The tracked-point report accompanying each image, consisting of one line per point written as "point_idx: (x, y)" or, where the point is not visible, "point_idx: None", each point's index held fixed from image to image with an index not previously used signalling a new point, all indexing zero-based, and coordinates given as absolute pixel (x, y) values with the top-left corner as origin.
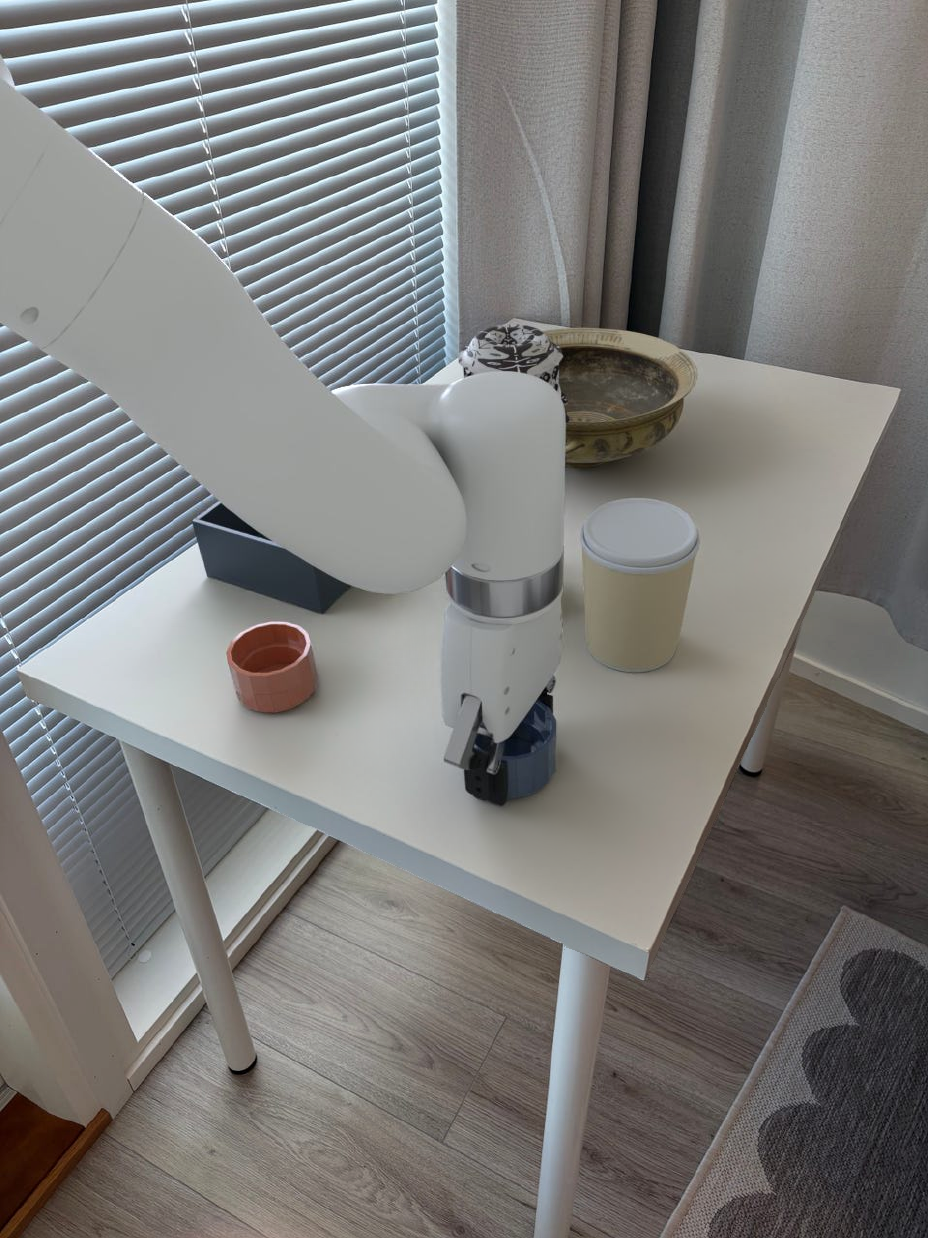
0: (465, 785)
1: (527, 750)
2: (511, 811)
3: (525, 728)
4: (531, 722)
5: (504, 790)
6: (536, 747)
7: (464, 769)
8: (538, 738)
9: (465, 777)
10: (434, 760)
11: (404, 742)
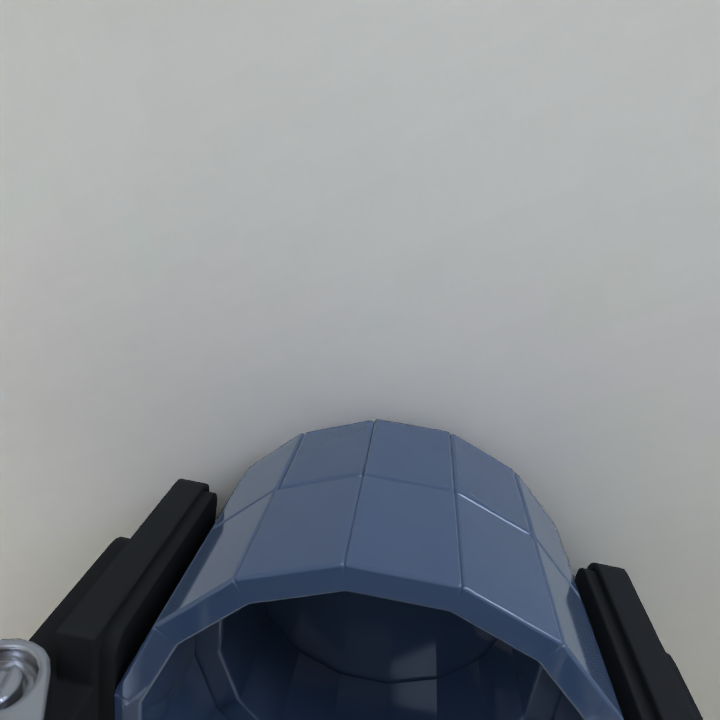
0: (169, 493)
1: (464, 620)
2: None
3: (522, 665)
4: (536, 717)
5: None
6: (487, 645)
7: (119, 556)
8: (489, 700)
9: (145, 525)
10: (333, 279)
11: (397, 94)
